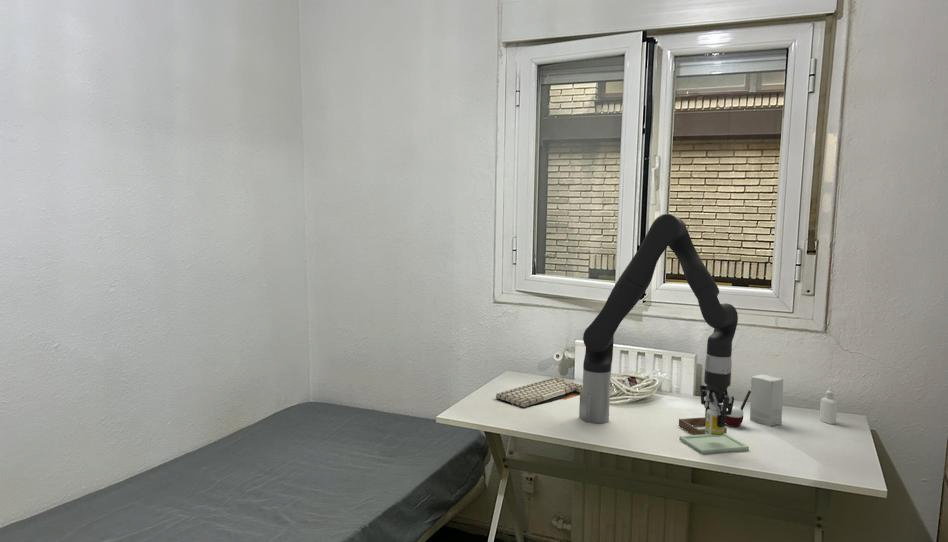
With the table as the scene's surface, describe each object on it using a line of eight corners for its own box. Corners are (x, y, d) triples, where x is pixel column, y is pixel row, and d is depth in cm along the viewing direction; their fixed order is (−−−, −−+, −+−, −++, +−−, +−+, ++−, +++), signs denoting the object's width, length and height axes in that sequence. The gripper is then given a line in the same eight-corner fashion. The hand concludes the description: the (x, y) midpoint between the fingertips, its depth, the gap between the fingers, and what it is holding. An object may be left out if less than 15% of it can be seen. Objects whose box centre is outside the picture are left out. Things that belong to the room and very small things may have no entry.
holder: (697, 437, 203) (697, 429, 203) (678, 426, 213) (678, 418, 213) (726, 435, 206) (726, 427, 205) (706, 424, 216) (707, 417, 216)
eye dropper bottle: (832, 419, 223) (835, 386, 222) (836, 425, 218) (839, 390, 217) (818, 418, 225) (821, 385, 223) (822, 423, 219) (825, 389, 218)
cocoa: (718, 426, 215) (718, 391, 214) (721, 420, 221) (721, 386, 219) (748, 430, 211) (748, 395, 209) (751, 424, 216) (751, 389, 215)
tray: (701, 454, 189) (702, 450, 189) (679, 439, 201) (679, 436, 201) (748, 450, 193) (749, 446, 193) (724, 436, 205) (724, 432, 204)
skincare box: (781, 424, 218) (785, 379, 216) (769, 427, 215) (773, 381, 213) (759, 416, 225) (762, 373, 224) (747, 419, 222) (750, 375, 220)
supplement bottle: (701, 433, 197) (703, 403, 196) (710, 430, 200) (712, 400, 200) (717, 438, 193) (719, 407, 192) (727, 435, 196) (728, 404, 195)
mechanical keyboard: (530, 413, 226) (530, 403, 225) (491, 401, 239) (491, 392, 239) (592, 393, 252) (592, 384, 252) (554, 383, 266) (554, 375, 265)
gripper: (693, 364, 201) (690, 416, 202) (721, 376, 187) (718, 432, 188) (714, 363, 202) (711, 415, 204) (744, 375, 189) (740, 430, 190)
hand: (714, 423), depth 196 cm, fingers closed on supplement bottle, 5 cm apart
